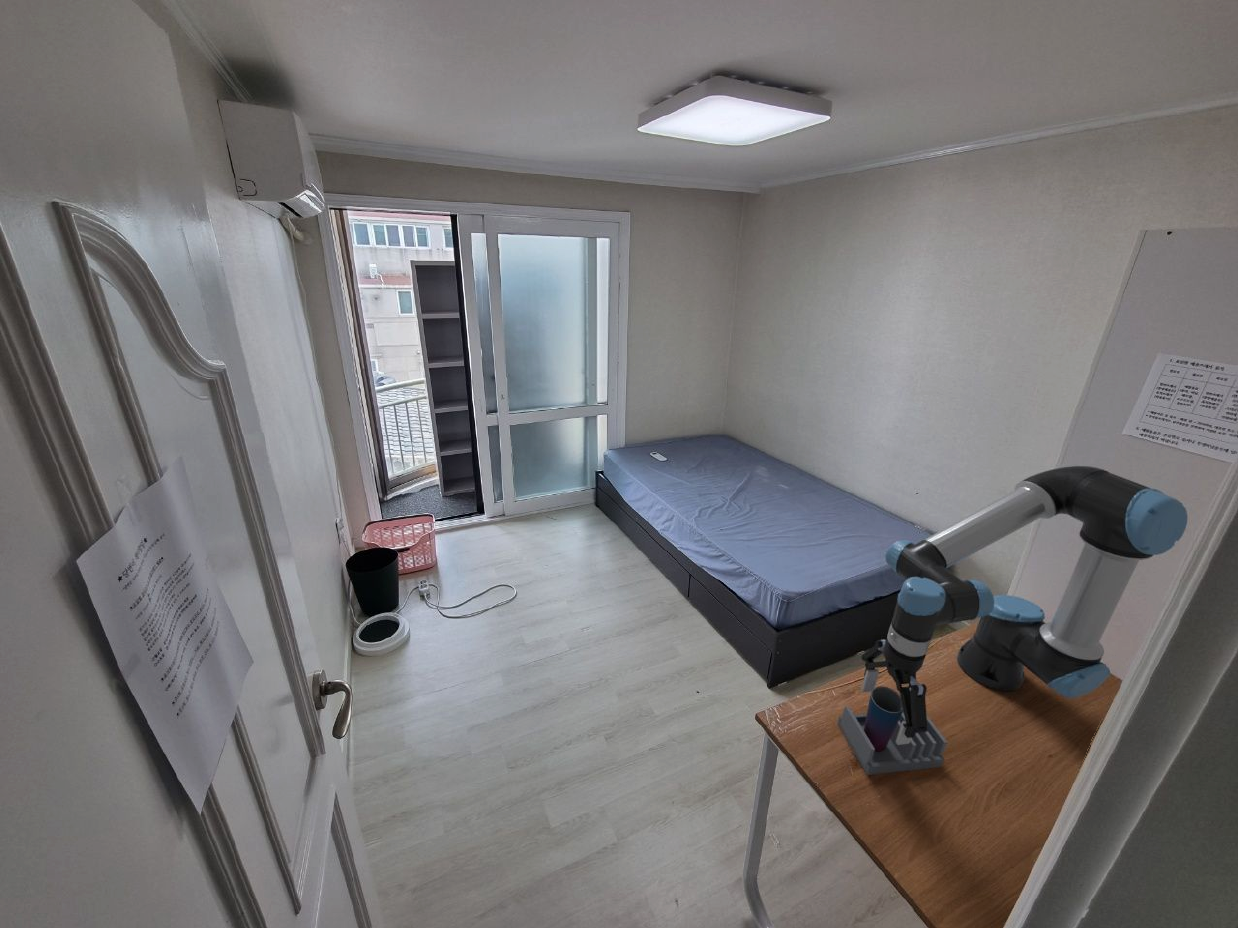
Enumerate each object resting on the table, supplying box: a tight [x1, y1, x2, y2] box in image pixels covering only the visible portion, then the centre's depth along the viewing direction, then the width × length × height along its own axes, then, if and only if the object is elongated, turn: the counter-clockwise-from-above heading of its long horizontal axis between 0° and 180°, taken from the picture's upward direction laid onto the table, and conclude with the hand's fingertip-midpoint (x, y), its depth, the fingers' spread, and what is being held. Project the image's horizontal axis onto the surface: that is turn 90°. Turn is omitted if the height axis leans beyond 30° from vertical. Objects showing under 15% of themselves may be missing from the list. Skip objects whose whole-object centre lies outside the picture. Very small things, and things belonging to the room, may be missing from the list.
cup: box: [864, 685, 903, 752], centre depth 114 cm, size 7×7×15 cm
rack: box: [837, 705, 948, 776], centre depth 116 cm, size 18×13×7 cm
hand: (883, 715), depth 113 cm, fingers open, 13 cm apart
